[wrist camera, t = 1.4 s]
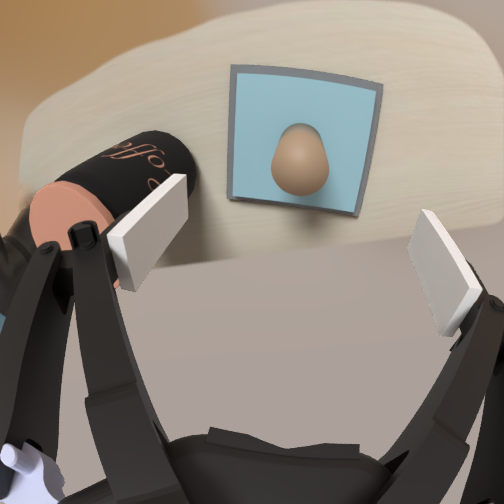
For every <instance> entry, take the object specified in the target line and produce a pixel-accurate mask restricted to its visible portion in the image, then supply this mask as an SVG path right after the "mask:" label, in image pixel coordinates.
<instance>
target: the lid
mask: <svg viewBox="0 0 504 504" xmlns="http://www.w3.org/2000/svg"><path fill="white" fill-rule="evenodd" d="M375 96H376V91H373V90H368V89H364V88H359V87H354V86H349V85H344V84H339V83H333V82H327V81H320V80H313V79H306V78H298V77H288V76H278V75H265V74H245V73H237V91H236V113H235V137H234V166H233V196H238V197H247V198H256V199H264V200H272V201H280V202H288V203H295V204H302V205H309V206H316V207H323V208H329V209H336V210H342V211H348V212H354V209H355V205H356V200H357V196H358V191H359V187H360V182H361V177H362V172H363V168H364V162H365V157H366V152H367V147H368V141H369V135H370V129H371V123H372V117H373V110H374V103H375Z"/></svg>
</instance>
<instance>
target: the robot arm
mask: <svg viewBox="0 0 504 504" xmlns="http://www.w3.org/2000/svg"><path fill="white" fill-rule="evenodd" d="M30 205H31V204H30ZM30 205H29V206H27V207H26V208H25V209H23V210H22V211H21V213H20V214H19V216H18V217H17V219H16V220H15V222H14V223H13V225H12V227H11V228H10V230H9V232H8V233H7V235H6V236H5V237H3V238H2V237H1V234H0V502H3V503H5V504H439V503H440V502H441V500H442V499H443V497H444V496H445V494H446V493H447V491H448V489H449V488H450V486H451V484H452V483H453V481H454V479H455V477H456V476H457V474H458V472H459V470H460V468H461V467H462V464H463V463H464V460H465V459H466V457H467V454H468V452H469V449H470V447H469V444H467V443H466V442H465V441H466V439H467V436H468V434H469V432H470V430H471V428H472V425H473V423H474V421H475V419H476V416H477V414H478V411H479V408H480V406H481V404H482V401H483V399H484V396H485V402H484V409H483V415H482V422H481V427H480V432H479V437H478V441H477V446H476V450H475V454H474V458H473V462H472V465H471V469H470V473H469V476H468V479H467V482H466V485H465V488H464V491H463V495H462V498H461V502H460V504H504V303H503V302H502V301H501V300H500V299H499V298H497V297H495V296H493V295H489V294H488V292H487V290H486V289H485V287H484V285H483V283H482V281H481V280H480V279H479V276H478V275H477V274H476V271H475V270H474V268H473V267H472V265H471V264H470V263H469V262H468V261H467V260H466V259H465V258H464V257H463V255H462V254H461V252H460V251H459V249H458V247H457V246H456V244H455V243H454V241H453V240H452V238H451V237H450V236H449V234H448V233H447V231H446V230H445V228H444V227H443V225H442V224H441V223H440V221H439V220H438V218H437V217H436V216H435V214H434V213H433V212H432V211H428V210H424V209H421V211H420V214H419V217H418V220H417V223H416V226H415V229H414V232H413V235H412V238H411V241H410V243H409V246H408V248H407V252H408V254H409V256H410V258H411V261H412V263H413V265H414V268H415V270H416V273H417V275H418V278H419V280H420V283H421V285H422V288H423V290H424V293H425V296H426V298H427V301H428V304H429V307H430V309H431V312H432V315H433V318H434V321H435V324H436V327H437V330H438V333H439V336H446V337H453V335H454V334H455V332H456V331H457V329H458V328H460V330H461V333H462V334H461V335H460V337H459V338H458V339H457V341H456V342H455V344H454V345H453V346H452V347H451V349H450V351H452V352H451V354H450V356H449V358H448V360H447V362H446V364H445V365H444V367H443V369H442V371H441V373H440V375H439V377H438V378H437V380H436V382H435V384H434V385H433V387H432V389H431V390H430V392H429V394H428V395H427V397H426V398H425V400H424V402H423V403H422V405H421V406H420V408H419V409H418V411H417V412H416V414H415V415H414V417H413V418H412V420H411V421H410V423H409V424H408V426H407V427H406V428H405V430H404V431H403V432H402V434H401V435H400V437H399V438H398V439H397V441H396V442H395V443H394V445H393V446H392V447H391V448H390V450H389V451H388V452H387V453H386V454H385V455H384V456H383V457H382V458H380V459H379V460H378V461H377V460H376V459H374V458H372V457H370V456H368V455H365V454H363V453H359V446H360V445H359V444H329V443H323V444H318V445H311V446H306V447H298V448H290V449H284V448H281V447H278V446H275V445H273V444H270V443H268V442H265V441H262V440H260V439H258V438H255V437H253V436H250V435H248V434H243V433H238V432H233V431H228V430H223V429H218V428H214V427H210V429H209V432H208V434H201V435H191V436H187V437H183V438H180V439H176V440H174V441H172V442H169V439H168V437H167V435H166V433H165V431H164V430H163V427H162V426H161V424H160V421H159V419H158V417H157V415H156V412H155V410H154V408H153V405H152V403H151V400H150V398H149V395H148V392H147V390H146V387H145V385H144V382H143V379H142V377H141V374H140V371H139V368H138V365H137V362H136V360H135V357H134V354H133V351H132V347H131V345H130V341H129V338H128V335H127V332H126V328H125V325H124V321H123V318H122V314H121V310H120V307H119V303H118V299H117V295H116V291H115V288H114V285H113V284H114V283H115V282H116V280H117V279H118V280H119V283H120V287H121V289H124V290H128V291H132V292H136V291H137V289H138V288H139V287H140V285H141V284H142V282H143V281H144V279H145V278H146V276H147V275H148V273H149V272H150V271H151V269H152V268H153V266H154V265H155V263H156V262H157V261H158V259H159V258H160V256H161V255H162V254H163V252H164V251H165V249H166V248H167V247H168V245H169V244H170V242H171V241H172V240H173V238H174V237H175V236H176V234H177V233H178V232H179V230H180V229H181V228H182V226H183V225H184V223H185V222H186V221H187V220H188V200H187V179H186V174H173V175H172V176H170V177H169V178H168V179H167V180H166V181H164V182H163V183H162V184H161V185H160V186H159V187H157V188H156V189H155V190H154V191H153V192H152V193H151V194H149V195H148V196H147V197H146V198H145V199H144V200H143V201H142V202H140V203H139V204H138V205H137V206H136V207H135V208H134V209H133V210H132V211H131V210H129V211H127V212H125V213H123V214H121V215H120V216H119V217H117V218H116V219H115V221H113V222H112V223H111V224H110V226H108V227H107V228H106V229H105V230H104V231H103V232H102V233H101V234H99V230H98V226H97V223H96V222H95V221H93V220H85V221H81V222H78V223H76V224H74V225H73V226H71V227H70V228H69V229H68V232H67V234H68V237H69V240H70V244H71V247H72V250H61V247H60V244H59V243H58V242H57V241H49V242H44V243H42V244H41V245H40V246H39V247H37V246H36V244H35V241H34V239H33V236H32V232H31V227H30V222H29V215H30ZM74 302H75V310H76V320H77V328H78V336H79V343H80V350H81V357H82V362H83V368H84V373H85V378H86V383H87V388H88V393H89V395H88V397H86V398H85V408H86V412H87V416H88V420H89V424H90V428H91V431H92V435H93V438H94V442H95V445H96V448H97V451H98V454H99V457H100V461H101V463H102V466H103V469H104V472H105V475H106V477H107V478H106V479H103V480H101V481H100V482H98V483H96V484H93V485H91V486H89V487H87V488H85V489H83V490H81V491H79V492H76V493H74V494H72V495H70V496H67V497H65V495H64V494H63V491H62V487H63V486H64V483H65V482H64V477H63V476H62V474H61V472H60V469H59V467H58V465H57V464H56V457H57V449H58V437H59V436H58V435H59V408H60V395H61V383H62V373H63V365H64V357H65V351H66V344H67V338H68V332H69V326H70V321H71V316H72V311H73V306H74ZM485 393H486V394H485Z"/></svg>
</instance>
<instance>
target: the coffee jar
mask: <svg viewBox="0 0 504 504" xmlns="http://www.w3.org/2000/svg"><path fill="white" fill-rule="evenodd" d="M173 174H186V179H187V199H188V198H189V196H190V194H191V192H192V191H193V189H194V184H195V178H196V173H195V165H194V161H193V159H192V157H191V154H190V152H189V150H188V149H187V148H186V147H185V146H184V144H183V143H182V142H181V141H180V140H179V139H177V138H175V137H174V136H172V135H170V134H169V133H165V132H160V131H156V130H154V131H147V132H142V133H140V134H138V135H136V136H134V137H131V138H129V139H127V140H125V141H123V142H121V143H119V144H117V145H115V146H113V147H111V148H109V149H107V150H105V151H103V152H101V153H99V154H98V155H96V156H94V157H92V158H90V159H88V160H86V161H85V162H83V163H81V164H79V165H78V166H76V167H74V168H72V169H71V170H69V171H67V172H66V173H64V174H63V175H62V176H60V177H59V178H58V179H56V180H55V181H54V182H52V183H49V184H47V185H45V186H44V187H43V188H42V189H40V190H39V191H38V192H37V193H36V194H35V196H34V198H33V200H32V203H31V205H30V215H29V222H30V227H31V232H32V236H33V239H34V241H35V244H36V246H37V247H39V246H40V245H41V244H42V243H44V242H49V241H57V242H58V243H59V244H60V247H61V250H72V247H71V244H70V240H69V237H68V234H67V232H68V229H69V228H70V227H71V226H73V225H74V224H76V223H78V222H81V221H85V220H93V221H95V222H96V223H97V226H98V230H99V234H101V233H102V232H103V231H104V230H105V229H106V228H107V227H108V226H110V224H111V223H112V222H113V221H115V219H116V218H117V217H119V216H120V215H121V214H123V213H125V212H127V211H129V210H131V211H132V210H133V209H134V208H135V207H136V206H137V205H138V204H139V203H140V202H142V201H143V200H144V199H145V198H146V197H147V196H148V195H149V194H151V193H152V192H153V191H154V190H155V189H156V188H157V187H159V186H160V185H161V184H162V183H163V182H164V181H166V180H167V179H168V178H169V177H170V176H172V175H173ZM113 285H114V288H115V289H116V288H117V287H118V286H119V285H120V283H119V280H118V279H117V280H116V282H115V283H114V284H113Z"/></svg>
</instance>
